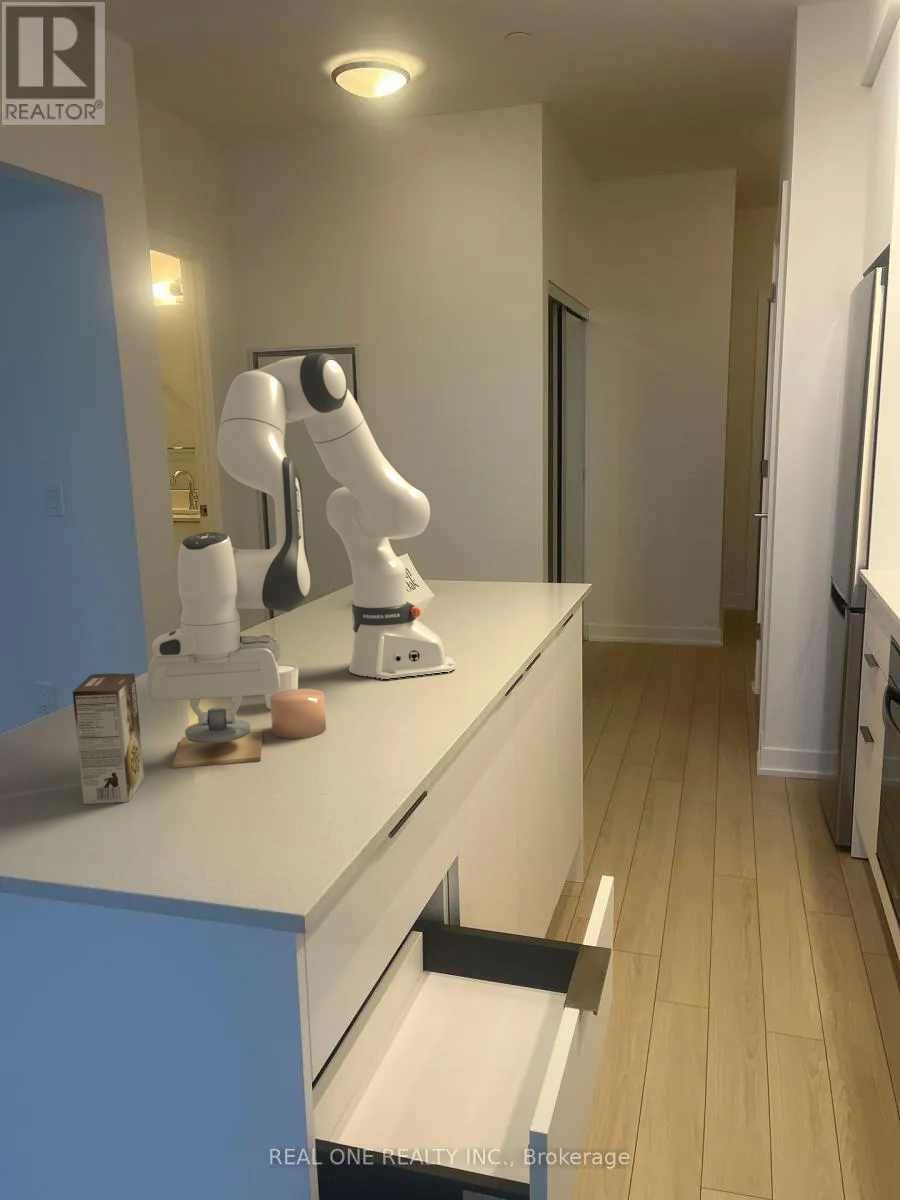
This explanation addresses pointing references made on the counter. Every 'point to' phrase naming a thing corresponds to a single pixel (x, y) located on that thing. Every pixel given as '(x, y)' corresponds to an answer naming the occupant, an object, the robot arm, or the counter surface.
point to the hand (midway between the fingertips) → (217, 723)
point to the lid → (217, 728)
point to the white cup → (285, 680)
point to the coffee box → (108, 738)
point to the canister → (298, 713)
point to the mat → (219, 751)
